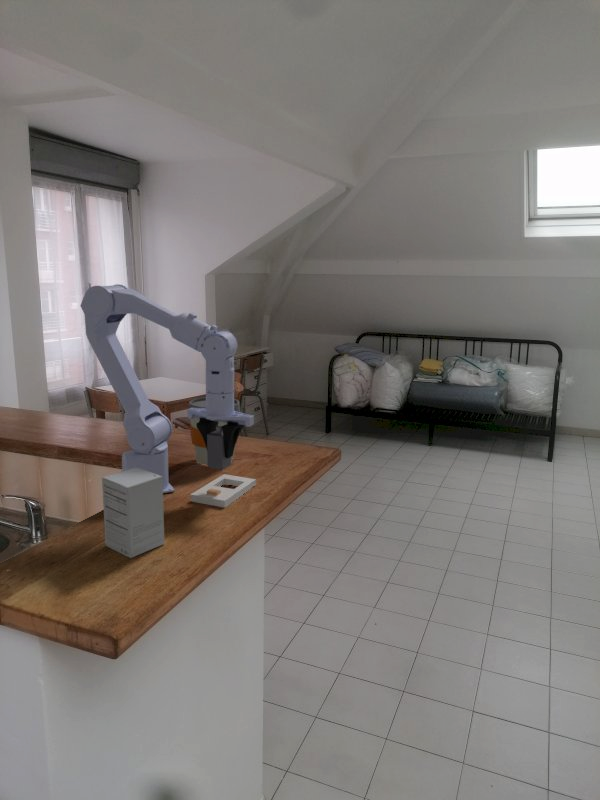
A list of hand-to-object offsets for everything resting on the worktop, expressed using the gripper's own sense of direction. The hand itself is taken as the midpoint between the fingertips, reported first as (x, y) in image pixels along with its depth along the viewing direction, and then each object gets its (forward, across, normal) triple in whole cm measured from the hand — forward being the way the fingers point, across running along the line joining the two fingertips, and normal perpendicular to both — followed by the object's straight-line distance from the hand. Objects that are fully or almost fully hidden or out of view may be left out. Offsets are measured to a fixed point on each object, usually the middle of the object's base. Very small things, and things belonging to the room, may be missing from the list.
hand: (220, 455), depth 130 cm
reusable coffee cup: (+9, -13, +20) cm, 25 cm away
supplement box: (+9, -1, -27) cm, 28 cm away
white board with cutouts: (+9, 0, +2) cm, 9 cm away
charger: (+2, 0, 0) cm, 2 cm away
